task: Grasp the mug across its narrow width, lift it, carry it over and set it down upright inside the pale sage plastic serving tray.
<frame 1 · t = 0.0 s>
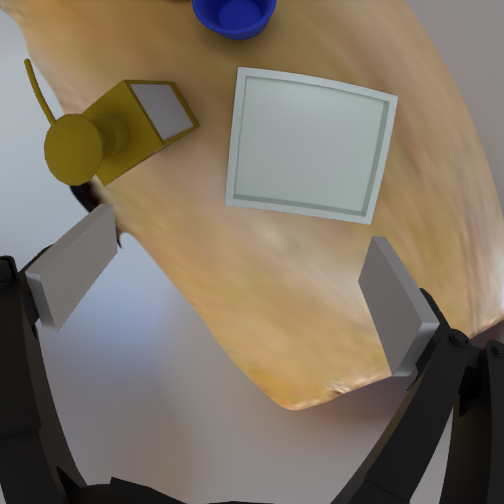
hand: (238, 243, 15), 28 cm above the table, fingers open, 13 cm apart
mug: (248, 6, 31), on the table
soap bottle: (155, 101, 37), on the table
tray: (309, 144, 39), on the table
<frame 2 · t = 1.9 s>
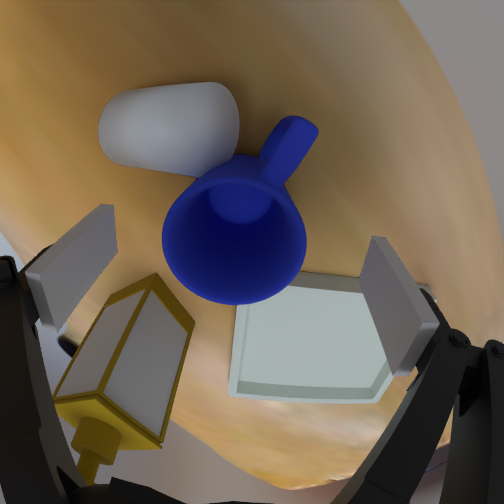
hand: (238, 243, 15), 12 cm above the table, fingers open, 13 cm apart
white cylinder: (212, 130, 18), point 6 cm above the table, tilted 118°, touching mug
mug: (252, 171, 26), on the table, touching white cylinder
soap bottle: (137, 289, 33), on the table
tray: (322, 341, 35), on the table
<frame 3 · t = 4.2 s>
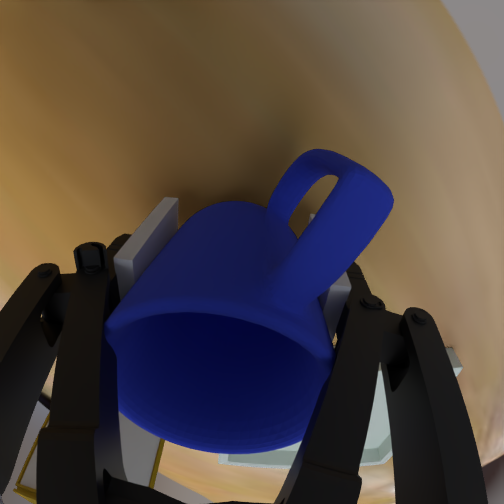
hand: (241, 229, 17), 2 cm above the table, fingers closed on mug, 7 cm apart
mug: (257, 224, 17), point 2 cm above the table, touching gripper
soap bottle: (107, 355, 26), on the table
tray: (326, 410, 28), on the table
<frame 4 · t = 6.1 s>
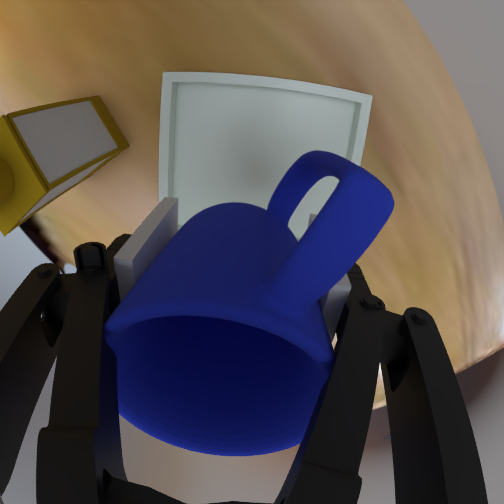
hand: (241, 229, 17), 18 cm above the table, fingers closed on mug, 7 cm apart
mug: (256, 225, 17), point 17 cm above the table, touching gripper
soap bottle: (81, 119, 30), on the table
tray: (258, 161, 32), on the table
when the fingers open (1 cm above the table, at t = 8.3 s): mug stays where it is, resting on tray.
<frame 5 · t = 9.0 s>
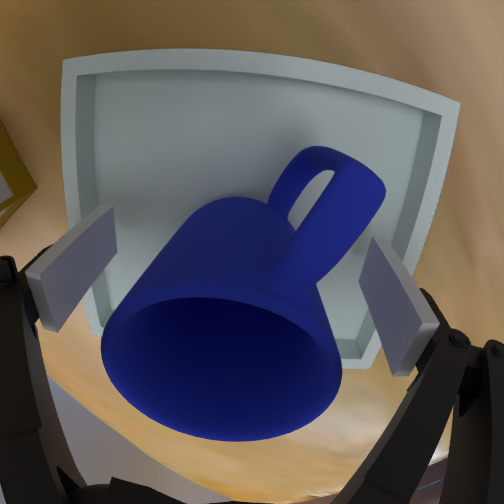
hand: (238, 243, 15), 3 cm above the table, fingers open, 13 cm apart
mug: (257, 219, 18), resting on tray
tray: (243, 217, 18), on the table
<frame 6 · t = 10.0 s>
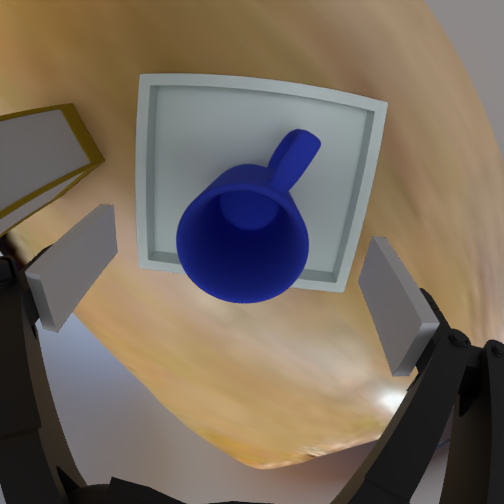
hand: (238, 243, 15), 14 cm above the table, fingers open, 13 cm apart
mug: (261, 180, 27), resting on tray
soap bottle: (54, 130, 26), on the table
tray: (252, 180, 28), on the table
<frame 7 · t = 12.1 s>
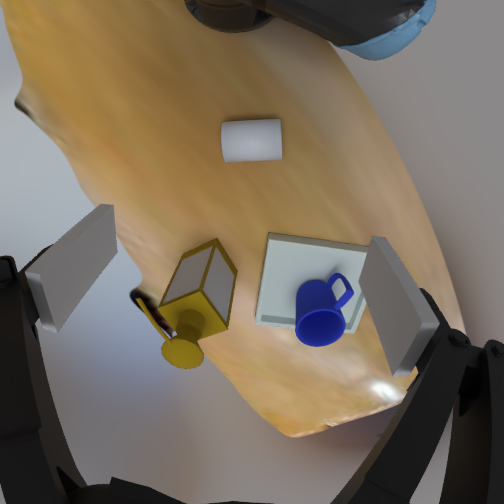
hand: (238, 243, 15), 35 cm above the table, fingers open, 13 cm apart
white cylinder: (280, 139, 43), point 3 cm above the table, tilted 90°
mug: (320, 285, 57), resting on tray
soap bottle: (202, 249, 55), on the table
tray: (315, 284, 57), on the table
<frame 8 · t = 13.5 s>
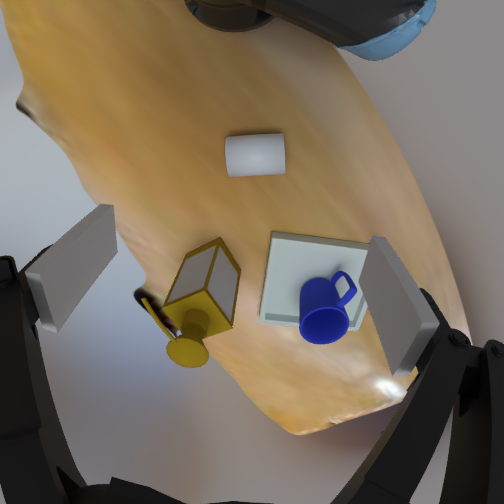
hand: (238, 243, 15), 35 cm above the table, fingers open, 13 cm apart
white cylinder: (283, 153, 44), point 3 cm above the table, tilted 90°
mug: (323, 283, 57), resting on tray
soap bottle: (205, 248, 56), on the table
tray: (319, 282, 57), on the table
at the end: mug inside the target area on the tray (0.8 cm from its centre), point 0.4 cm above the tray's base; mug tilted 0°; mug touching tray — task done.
